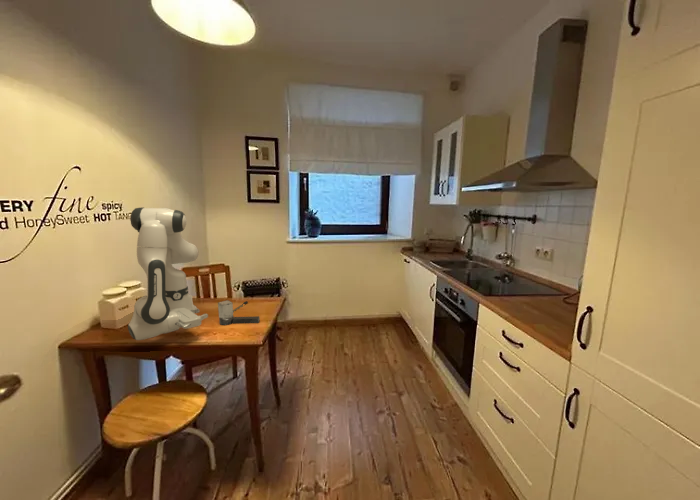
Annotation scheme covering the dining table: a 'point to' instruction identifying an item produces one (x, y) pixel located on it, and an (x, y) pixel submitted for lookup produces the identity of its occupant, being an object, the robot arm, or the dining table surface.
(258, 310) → the dining table surface
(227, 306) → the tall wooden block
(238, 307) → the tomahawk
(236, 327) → the dining table surface
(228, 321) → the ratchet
